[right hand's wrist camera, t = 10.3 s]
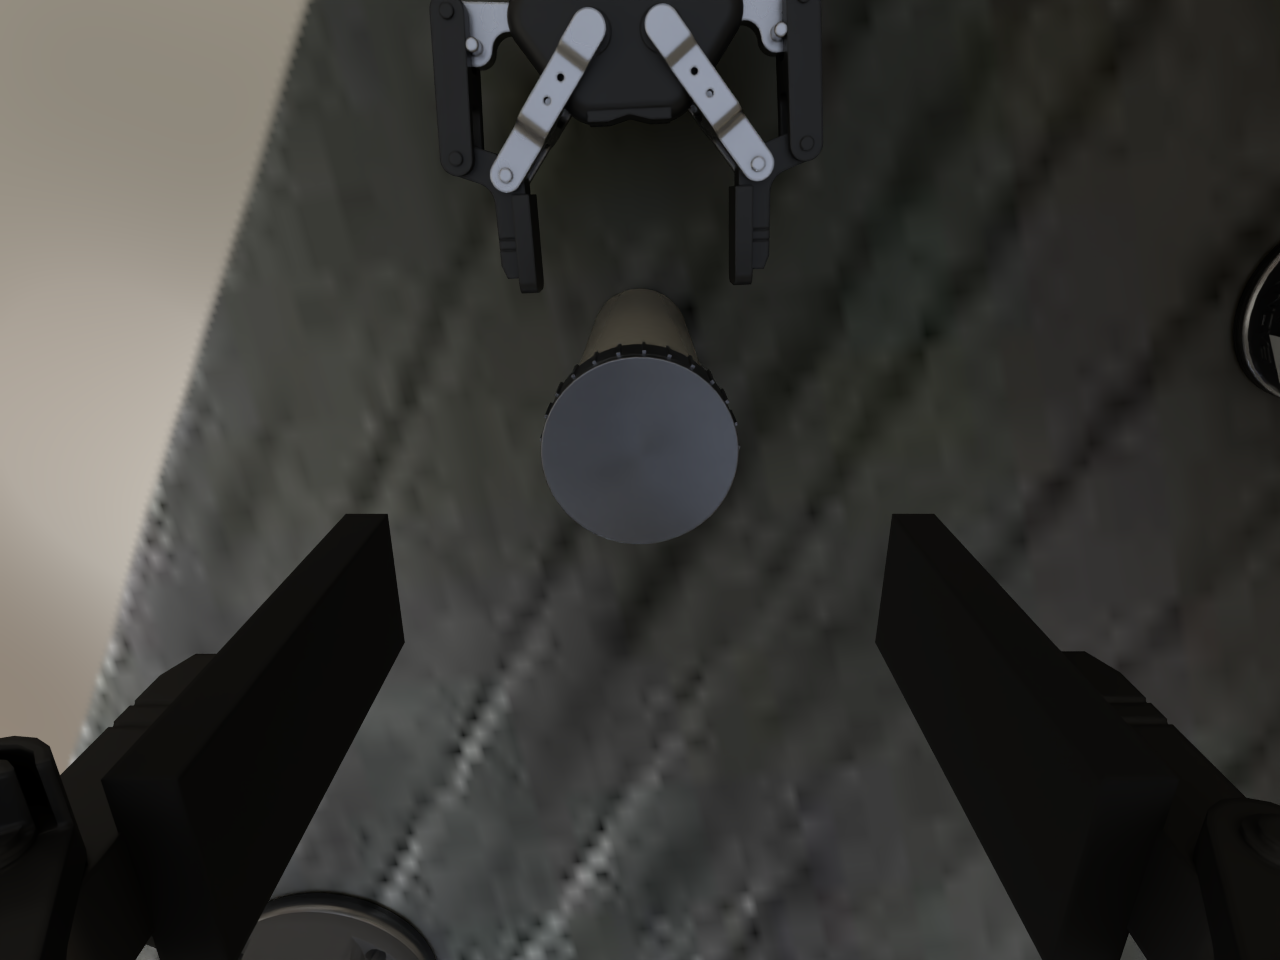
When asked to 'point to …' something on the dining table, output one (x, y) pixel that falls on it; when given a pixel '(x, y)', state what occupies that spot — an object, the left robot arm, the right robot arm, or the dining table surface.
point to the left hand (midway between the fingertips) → (636, 287)
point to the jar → (639, 324)
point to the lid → (639, 444)
